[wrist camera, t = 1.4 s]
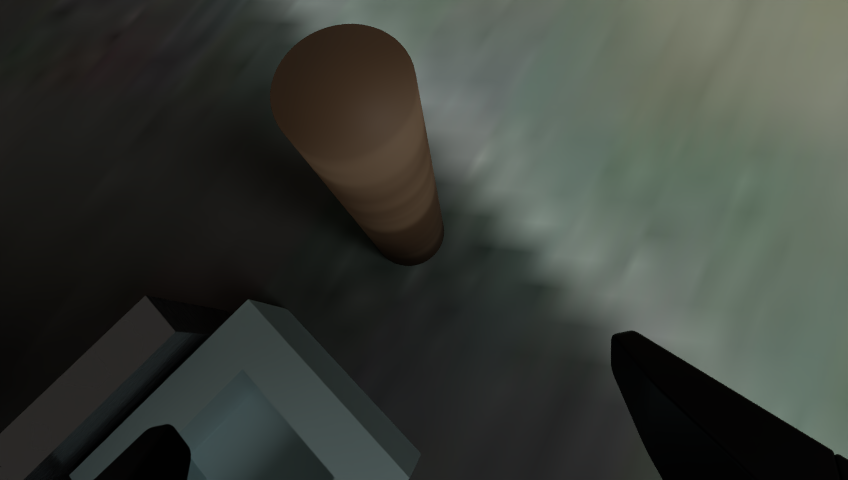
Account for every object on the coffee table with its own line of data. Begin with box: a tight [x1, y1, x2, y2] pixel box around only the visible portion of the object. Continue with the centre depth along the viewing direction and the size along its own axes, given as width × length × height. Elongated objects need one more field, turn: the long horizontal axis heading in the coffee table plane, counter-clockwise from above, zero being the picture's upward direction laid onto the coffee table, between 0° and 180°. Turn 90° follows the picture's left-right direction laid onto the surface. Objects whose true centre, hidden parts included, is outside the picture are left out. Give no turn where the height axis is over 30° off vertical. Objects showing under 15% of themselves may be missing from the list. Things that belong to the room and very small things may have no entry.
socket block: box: [69, 299, 421, 480], centre depth 19 cm, size 10×10×4 cm
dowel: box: [270, 24, 444, 266], centre depth 17 cm, size 4×4×13 cm
